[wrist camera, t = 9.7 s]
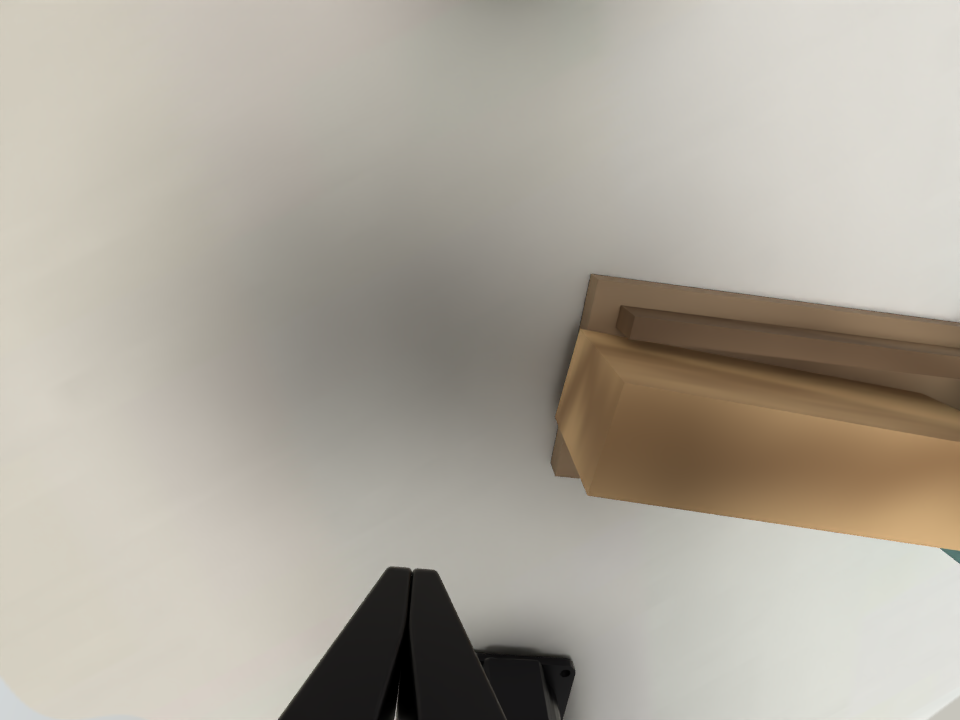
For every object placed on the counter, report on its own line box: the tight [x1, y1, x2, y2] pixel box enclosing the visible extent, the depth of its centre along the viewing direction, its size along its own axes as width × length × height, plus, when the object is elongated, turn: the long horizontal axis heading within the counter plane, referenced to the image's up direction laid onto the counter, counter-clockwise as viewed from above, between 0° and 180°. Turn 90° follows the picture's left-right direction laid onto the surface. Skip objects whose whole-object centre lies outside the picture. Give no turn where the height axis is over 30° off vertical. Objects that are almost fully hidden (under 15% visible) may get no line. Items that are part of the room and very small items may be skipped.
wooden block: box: [555, 329, 960, 551], centre depth 17 cm, size 4×14×5 cm, turn 78°
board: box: [551, 274, 960, 478], centre depth 20 cm, size 8×20×2 cm, turn 82°
